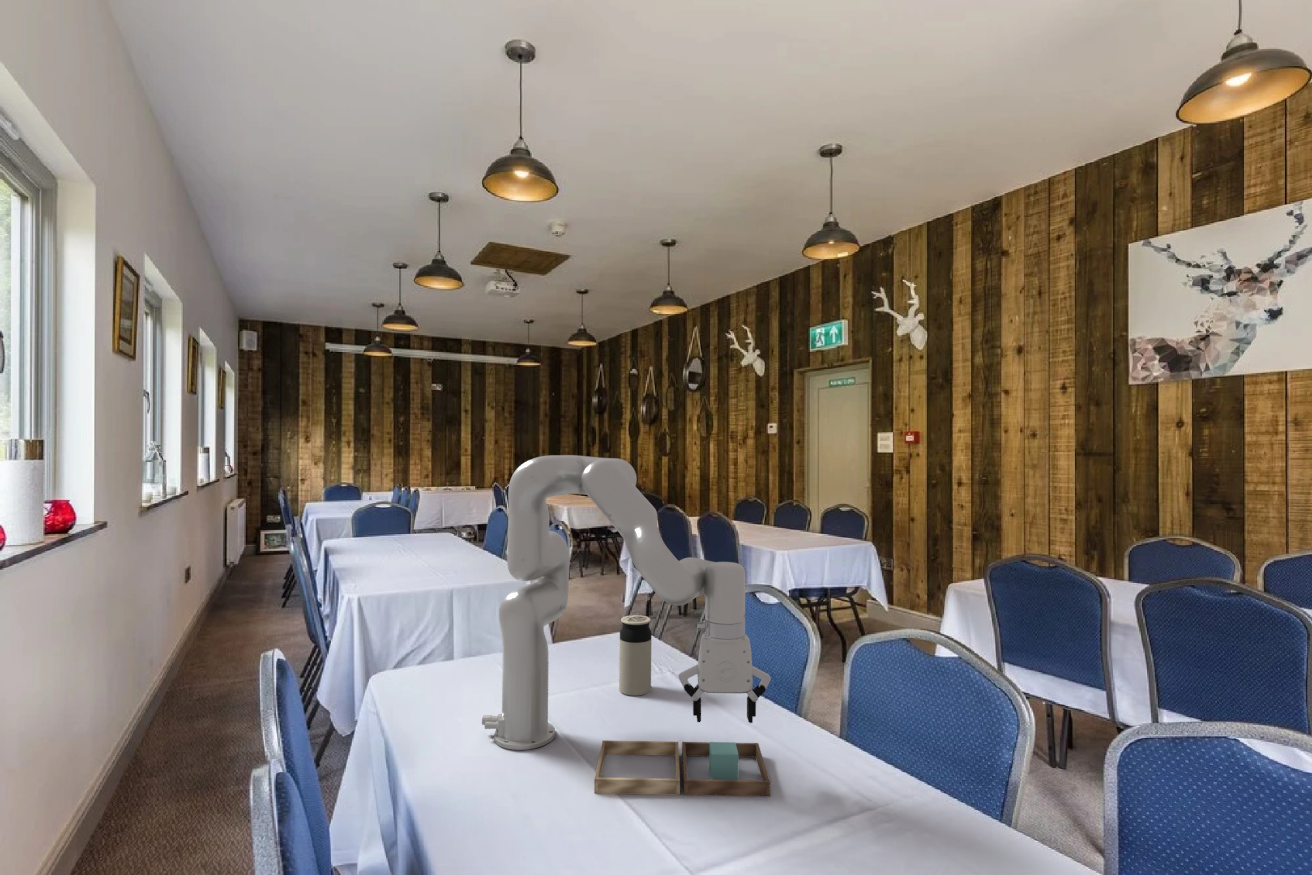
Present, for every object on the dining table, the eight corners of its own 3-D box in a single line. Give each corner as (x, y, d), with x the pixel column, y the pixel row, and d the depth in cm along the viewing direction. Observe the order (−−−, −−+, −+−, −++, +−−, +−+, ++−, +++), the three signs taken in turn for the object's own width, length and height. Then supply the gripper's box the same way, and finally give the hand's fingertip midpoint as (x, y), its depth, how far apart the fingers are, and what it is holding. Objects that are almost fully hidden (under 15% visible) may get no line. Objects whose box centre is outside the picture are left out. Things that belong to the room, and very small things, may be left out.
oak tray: (594, 793, 117) (594, 779, 117) (602, 752, 132) (602, 740, 132) (679, 794, 117) (679, 780, 117) (678, 754, 132) (678, 741, 132)
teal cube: (711, 781, 122) (711, 754, 122) (709, 767, 127) (709, 741, 127) (738, 781, 122) (738, 754, 122) (735, 768, 127) (735, 742, 127)
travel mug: (656, 688, 167) (657, 617, 167) (639, 699, 160) (640, 624, 160) (631, 682, 171) (631, 613, 171) (612, 692, 164) (613, 619, 165)
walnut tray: (684, 794, 117) (684, 780, 117) (682, 754, 132) (682, 741, 132) (770, 796, 117) (770, 782, 117) (758, 755, 132) (758, 743, 132)
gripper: (679, 634, 121) (678, 727, 121) (774, 635, 121) (773, 728, 121) (678, 622, 128) (678, 710, 128) (767, 623, 128) (767, 712, 128)
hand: (724, 719), depth 124 cm, fingers open, 9 cm apart
